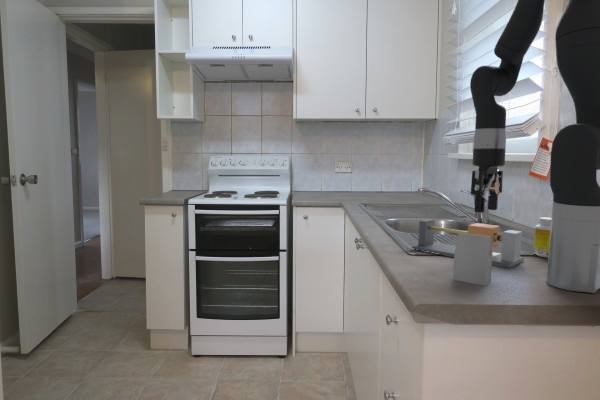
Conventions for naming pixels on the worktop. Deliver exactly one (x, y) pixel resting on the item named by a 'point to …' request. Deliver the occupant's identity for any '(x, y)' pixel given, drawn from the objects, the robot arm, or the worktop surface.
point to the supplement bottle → (542, 237)
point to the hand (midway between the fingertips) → (486, 211)
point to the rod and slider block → (426, 233)
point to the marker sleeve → (485, 231)
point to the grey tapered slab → (473, 259)
